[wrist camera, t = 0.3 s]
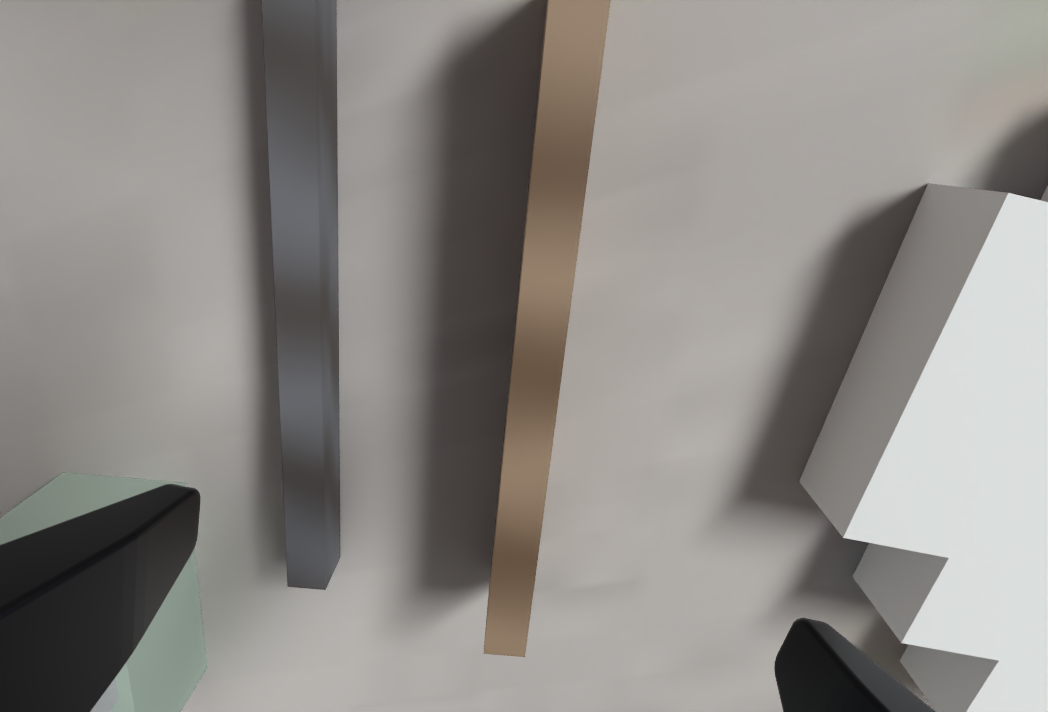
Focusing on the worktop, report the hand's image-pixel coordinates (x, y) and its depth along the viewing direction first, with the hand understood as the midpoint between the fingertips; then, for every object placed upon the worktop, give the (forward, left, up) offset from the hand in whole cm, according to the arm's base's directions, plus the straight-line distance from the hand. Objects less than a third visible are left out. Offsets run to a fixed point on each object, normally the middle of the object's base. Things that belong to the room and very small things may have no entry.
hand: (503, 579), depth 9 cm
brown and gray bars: (-1, +3, -14) cm, 14 cm away
